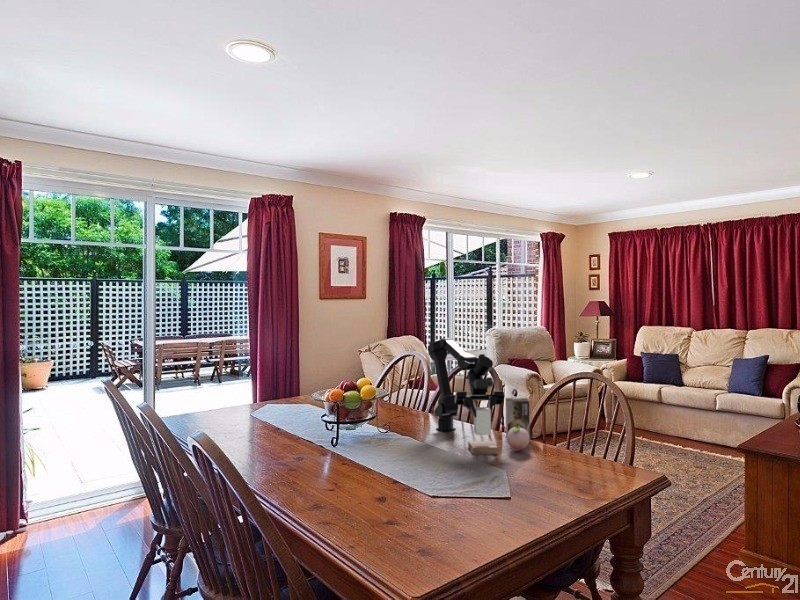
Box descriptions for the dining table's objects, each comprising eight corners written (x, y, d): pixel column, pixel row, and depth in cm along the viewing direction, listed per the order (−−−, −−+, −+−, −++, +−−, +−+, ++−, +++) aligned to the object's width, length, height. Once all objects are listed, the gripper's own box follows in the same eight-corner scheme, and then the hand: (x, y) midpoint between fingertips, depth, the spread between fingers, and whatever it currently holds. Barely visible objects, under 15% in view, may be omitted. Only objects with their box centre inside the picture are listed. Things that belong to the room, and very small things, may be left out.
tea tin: (473, 432, 195) (473, 407, 195) (488, 431, 195) (488, 407, 195) (476, 435, 191) (476, 409, 191) (490, 434, 191) (490, 409, 191)
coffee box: (527, 436, 214) (527, 397, 214) (530, 440, 207) (529, 400, 207) (505, 435, 215) (505, 397, 215) (507, 440, 208) (507, 400, 208)
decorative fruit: (530, 455, 187) (530, 428, 187) (507, 454, 189) (507, 427, 189) (528, 448, 196) (528, 422, 196) (507, 447, 198) (507, 421, 198)
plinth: (468, 447, 197) (468, 441, 197) (491, 447, 198) (491, 440, 198) (473, 454, 188) (473, 447, 188) (497, 454, 189) (497, 447, 189)
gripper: (456, 370, 196) (461, 405, 185) (503, 370, 198) (512, 404, 187) (452, 387, 204) (457, 421, 193) (497, 386, 206) (505, 420, 195)
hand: (483, 416), depth 192 cm, fingers closed on tea tin, 5 cm apart
